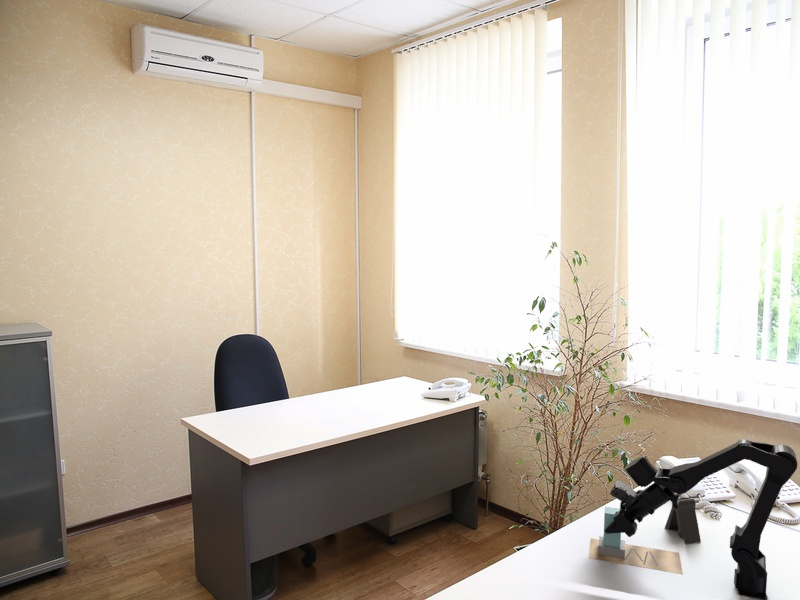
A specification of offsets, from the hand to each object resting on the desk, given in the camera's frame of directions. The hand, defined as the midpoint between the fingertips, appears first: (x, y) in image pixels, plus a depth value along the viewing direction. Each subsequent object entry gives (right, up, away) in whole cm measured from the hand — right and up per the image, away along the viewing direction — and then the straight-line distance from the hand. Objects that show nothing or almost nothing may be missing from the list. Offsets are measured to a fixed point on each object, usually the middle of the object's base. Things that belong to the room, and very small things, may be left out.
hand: (607, 528), depth 175 cm
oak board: (+7, -8, -2) cm, 11 cm away
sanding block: (+1, -7, 0) cm, 7 cm away
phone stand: (+27, -7, +12) cm, 30 cm away
